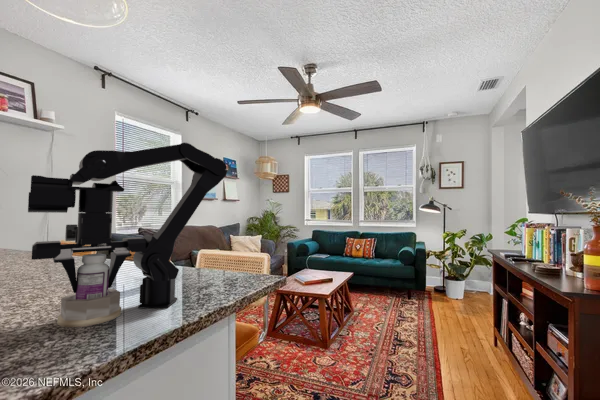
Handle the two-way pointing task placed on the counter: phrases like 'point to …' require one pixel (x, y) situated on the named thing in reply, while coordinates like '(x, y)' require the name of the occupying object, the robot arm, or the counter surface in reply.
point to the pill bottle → (92, 277)
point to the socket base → (89, 310)
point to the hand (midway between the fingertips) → (92, 289)
